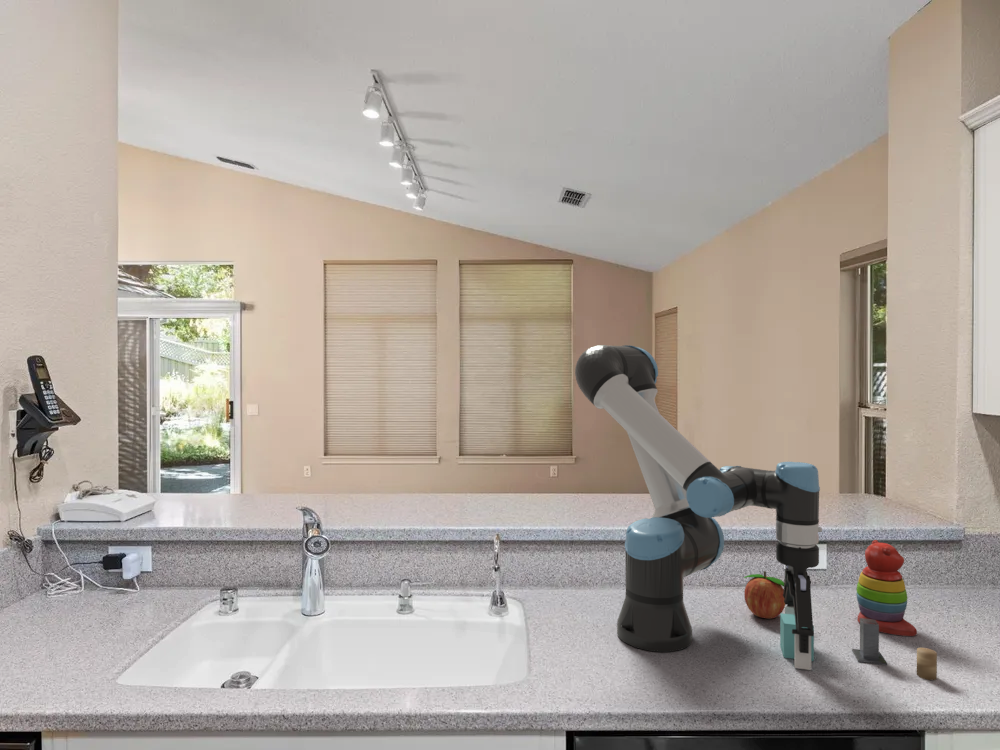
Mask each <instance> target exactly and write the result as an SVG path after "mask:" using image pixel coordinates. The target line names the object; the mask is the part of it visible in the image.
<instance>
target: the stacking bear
mask: <svg viewBox="0 0 1000 750" xmlns="http://www.w3.org/2000/svg"><path fill="white" fill-rule="evenodd" d="M864 552H865V553H864V558H865V562H866V565H867V566H865V567H864V568H863V569H862V571H861V572H860V574H859V577H858V581H857V584H856V585H857V586H856V599H857V603H858V608H859V613H858V615H857V619H856V620H857V622H858V623H859V624H860V618H864V619H874V620H876V622H877V623H878V624H879V633H882V634H883V633H884V634H889V635H894V636H895V635H896V636H902V637H903V636H904V637H915V636H917V635H918V630H917V628H916V627H915V626H914V625H913V624H911V623H910V622H909V621H907V620H905V619H904V617H905V613H906V609H907V605H908V592H907V589H906V584H905V580H904V579H903V575H902V573H901V572H899V571H900V569H901V568H902V567H903V566H904V563H905V558H904V557H903V556H902V555H901V554H900V553H899V552H898V550H897V549H896V547H894V545H891V544H889V543H885V542H879V541H878V540H877V539H874V540H872V541H871V544H870V545H868V546H867V548H866V549H865V551H864Z"/></svg>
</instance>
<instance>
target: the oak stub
mask: <svg viewBox="0 0 1000 750" xmlns="http://www.w3.org/2000/svg"><path fill="white" fill-rule="evenodd" d="M937 661H938V652H937V651H935V650H933V649H931V648H928V647H927V648H926V647H918V648H916V675H917V677H919V678H921V679H923V680H926V681H936V680H937V679H938V662H937Z"/></svg>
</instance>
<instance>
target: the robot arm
mask: <svg viewBox="0 0 1000 750" xmlns="http://www.w3.org/2000/svg"><path fill="white" fill-rule="evenodd" d="M581 353H582V354H581V355H580V356H579V357H578V359H577V361H576V364H575V368H574V376H575V380H576V383H577V385H578V388H579V390H580V391H581V393H582V394H583V395H584V397H585V398H586V399H587V400H589V402H590V403H591V404H592V405H593V406H594V407H595V408H596V409H601V410H603V409H604V410H605V412H607V414H609V415H610V416H611V418H612V419H614V421H616V422H617V424H619V425H620V426H621V427H622V428H623V429H624V431H625V432H626V433H627V436H628V438H629V441H630V444H631V447H632V449H633V452H634V455H635V457H636V461H637V463H638V465H639V469H640V472H641V475H642V476H643V479H644V482H645V486H646V487H647V490H648V493H649V496H650V499H651V502H652V504H653V507H654V511H653V513H652V514H653V515H652V516H651V518H646V517H645V518H642V519H638V520H636V521H634V522H632V523H631V524H629V526H628V527H627V529H626V532H625V542H624V550H625V597H624V601H623V604H622V606H621V609H620V613H619V616H618V618H617V621H616V622H617V623H616V634H617V637H618V638H619V639H620V640H621V641H622V642H624V643H625V644H627V645H629V646H632V647H634V648H637V649H640V650H645V651H651V652H661V653H667V652H669V653H670V652H675V651H680V650H683V649H686V648H687V647H689V646H690V645H691V644H692V642H693V628H692V625H691V622H690V618H689V616H688V615H689V614H688V612H687V609H686V608H687V607H686V606H685V601H684V578H685V577H689V576H690V575H692V574H694V573H697V572H699V571H703V570H706V569H709V568H710V567H711V566H712V565H713V564H715V563H716V562H717V561H718V560H719V559H720V557H721V555H722V554H723V551H724V549H725V536H724V531H723V529H722V527H721V525H720V524H719V522H718V521H717V520H716V518H717V517H723V516H725V515H727V514H729V513H731V512H733V511H738V510H741V509H744V508H747V507H759V508H765V509H771V510H772V509H773V510H775V512H776V513H775V538H776V540H777V542H776V543H775V546H776V547H775V549H776V550H775V552H776V554H775V557H776V560H777V562H778V563H779V564H781V565H784V567H785V568H784V579H783V580H784V581H783V582H784V586H783V589H784V591H783V597H784V598H785V599H784V603H785V608H784V614H793V615H795V624H796V629H792V634H795V659H794V668H795V669H800V670H808V671H809V670H810V671H811V670H812V661H811V636H813V635H815V630H814V631H813V626H814V623H813V622H814V621H813V605H812V594H811V593H812V592H811V591H812V590H811V588H812V586H811V585H812V581H811V576H810V575H808V571H807V569H809V568H813V569H814V568H815V567H818V566H819V564H820V547H819V546H818V544H819V542H820V541H819V538H820V536H819V533H821V532H823V528H822V527H821V526H820V525H819V523H820V515H819V514H820V490H821V487H820V481H819V479H820V478H819V477H820V476H819V469H818V468H817V466H815V465H814V464H812V463H808V462H800V461H782V462H781V461H780V462H778V463H777V464H776V467H775V468H776V469H775V470H768V469H767V470H766V469H759V468H752V467H744V466H741V465H734V466H732V465H724V466H722V467H720V468H717V466H716V465H714V463H712V462H711V461H710V460H709V459H708V458H707V457H706V456H705V455H704V454H703V453H702V452H701V451H700V450H698V449H697V448H696V446H694V445H693V444H692V442H690V441H689V440H688V439H687V438H686V437H685V436H684V435H683V434H682V433H680V431H678V430H677V428H675V427H674V426H673V425H672V424H671V423H670V422H669V421H668V420H667V419H666V418H665V417H664V416H662V414H661V413H660V411H659V409H658V406H657V404H656V401H655V398H656V396H657V394H658V392H659V391H658V388H657V385H656V383H657V380H658V379H657V377H658V376H659V368H658V363H657V362H656V360H655V358H654V357H653V355H652V354H651V353H650V352H648V351H647V350H646V349H644V348H642V347H639V346H634V345H607V344H598V345H594V346H591V347H589V348H587V349H585V350H584V351H583V352H581ZM802 627H807V628H802Z"/></svg>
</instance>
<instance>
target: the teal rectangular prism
mask: <svg viewBox="0 0 1000 750" xmlns="http://www.w3.org/2000/svg"><path fill="white" fill-rule="evenodd" d="M779 616H780V618H779V619H780V620H779V621H780V622H779V623H780V625H779V629H780V630H779V631H780V632H779V634H780V635H779V637H780V639H779V647H780V649H781V652H782V656H783V658H785V659H794V660H795V634H792V629H796V624H795V615H793V614H785V612H784V613H783V612H782V613H780V615H779ZM802 628H807V627H802ZM813 631H814V632H815V626H814V625H813ZM814 635H815V634H814ZM814 635H813V636H811V662H814V661H815V660H814V659H815V658H814V657H815V656H814V655H815V652H814V651H815V642H814V641H815V636H814Z"/></svg>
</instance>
